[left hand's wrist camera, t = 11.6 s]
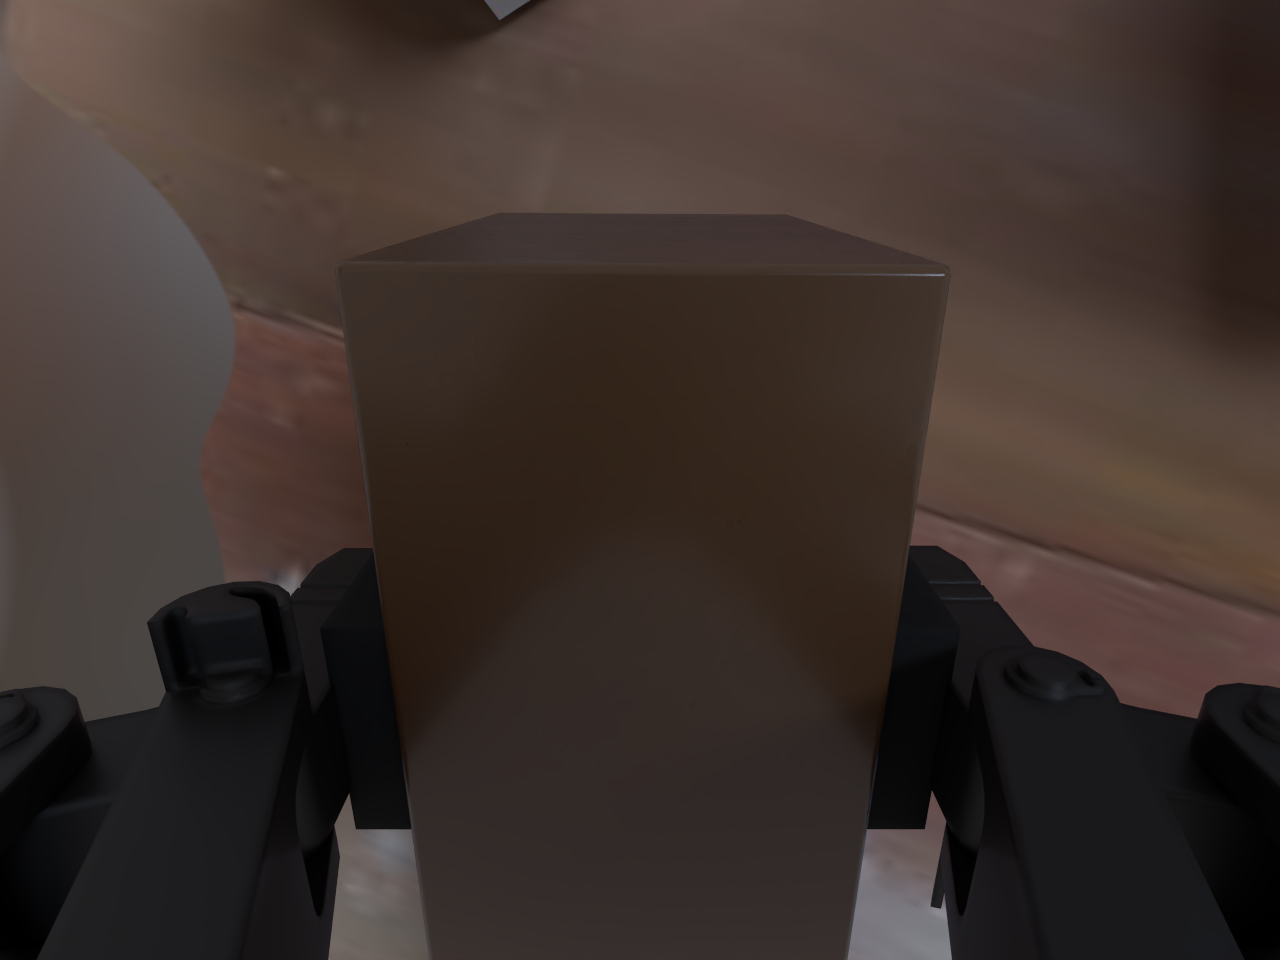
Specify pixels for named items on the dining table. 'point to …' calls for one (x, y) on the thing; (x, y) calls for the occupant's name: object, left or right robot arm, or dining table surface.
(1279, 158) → the dining table surface
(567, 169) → the dining table surface
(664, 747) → the post
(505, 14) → the electronic device
